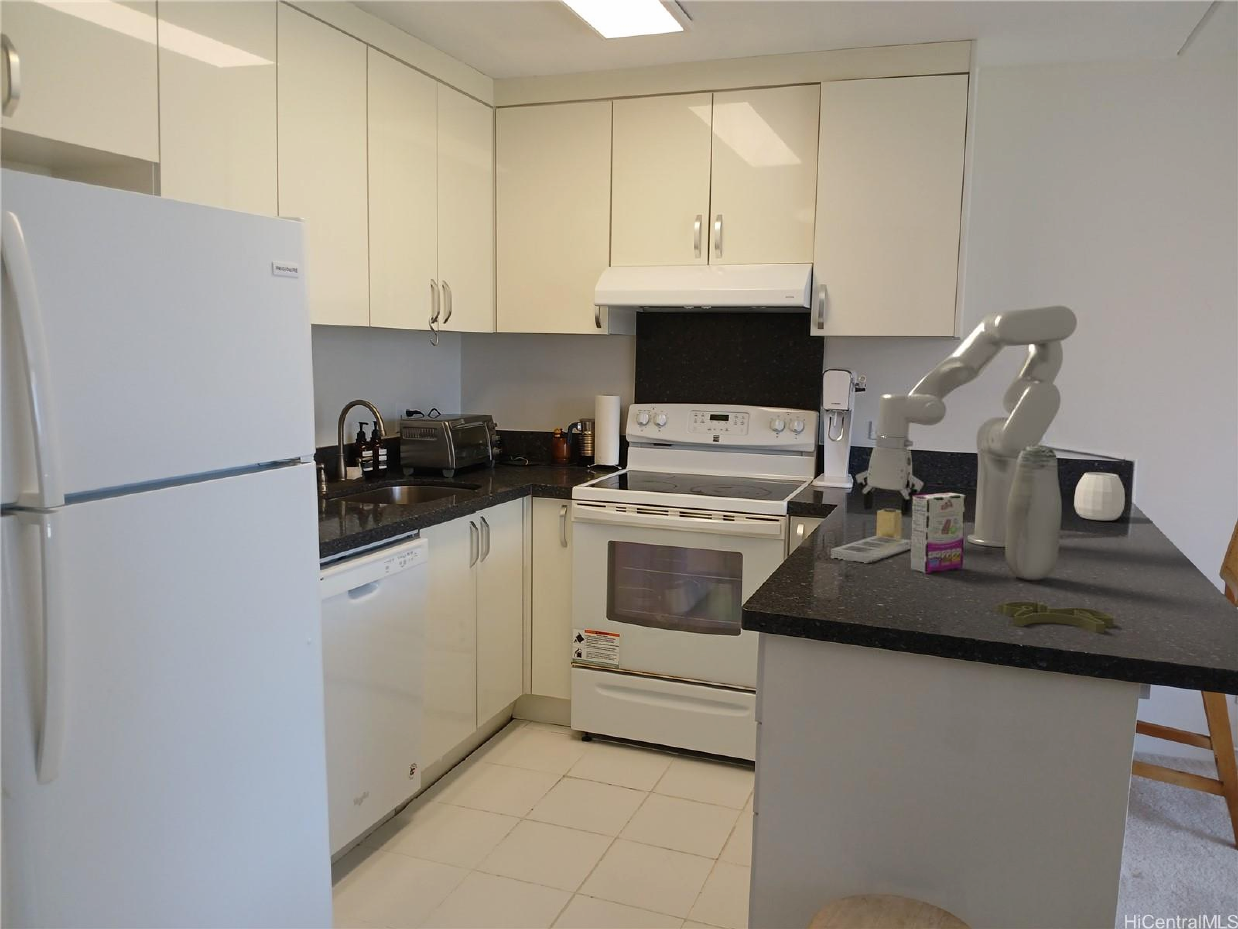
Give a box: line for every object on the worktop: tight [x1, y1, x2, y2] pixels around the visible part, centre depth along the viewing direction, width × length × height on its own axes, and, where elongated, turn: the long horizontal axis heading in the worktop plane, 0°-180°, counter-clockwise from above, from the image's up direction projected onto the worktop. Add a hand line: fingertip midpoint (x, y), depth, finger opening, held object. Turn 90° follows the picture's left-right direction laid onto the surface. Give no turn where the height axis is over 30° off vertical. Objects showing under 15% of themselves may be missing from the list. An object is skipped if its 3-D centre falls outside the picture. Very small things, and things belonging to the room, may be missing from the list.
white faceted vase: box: [1073, 471, 1126, 522], centre depth 270 cm, size 13×13×14 cm
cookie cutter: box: [996, 600, 1115, 634], centre depth 159 cm, size 18×12×2 cm, turn 73°
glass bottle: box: [1004, 444, 1063, 581], centre depth 189 cm, size 10×10×28 cm
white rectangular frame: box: [830, 535, 911, 564], centre depth 215 cm, size 9×24×2 cm, turn 140°
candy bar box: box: [909, 492, 966, 574], centre depth 198 cm, size 11×5×16 cm, turn 117°
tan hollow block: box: [875, 507, 903, 539], centre depth 229 cm, size 4×4×8 cm
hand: (886, 511), depth 229 cm, fingers open, 9 cm apart
